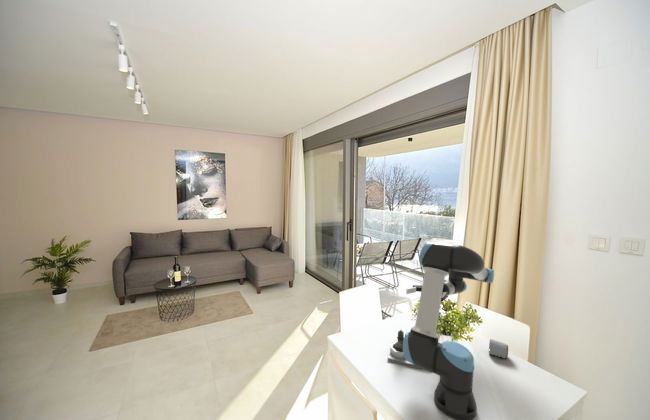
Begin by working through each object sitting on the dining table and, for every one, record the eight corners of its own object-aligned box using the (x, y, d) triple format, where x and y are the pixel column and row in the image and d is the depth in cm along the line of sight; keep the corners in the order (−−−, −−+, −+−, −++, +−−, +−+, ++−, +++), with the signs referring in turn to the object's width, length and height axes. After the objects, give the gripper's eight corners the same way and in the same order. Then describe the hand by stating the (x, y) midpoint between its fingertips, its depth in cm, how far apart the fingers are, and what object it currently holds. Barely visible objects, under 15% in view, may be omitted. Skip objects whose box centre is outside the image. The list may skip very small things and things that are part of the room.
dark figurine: (392, 350, 139) (392, 327, 138) (400, 347, 141) (401, 325, 140) (399, 356, 133) (400, 333, 133) (408, 353, 136) (409, 331, 135)
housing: (430, 371, 125) (431, 363, 124) (387, 360, 132) (388, 353, 132) (431, 354, 138) (431, 346, 138) (392, 344, 146) (392, 337, 146)
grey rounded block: (508, 362, 133) (509, 347, 132) (488, 357, 137) (489, 342, 136) (506, 351, 142) (507, 337, 141) (488, 347, 146) (489, 333, 145)
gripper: (464, 304, 138) (435, 312, 129) (425, 288, 161) (399, 294, 151) (464, 290, 138) (436, 297, 128) (426, 276, 160) (399, 281, 150)
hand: (416, 295), depth 139 cm, fingers open, 13 cm apart
